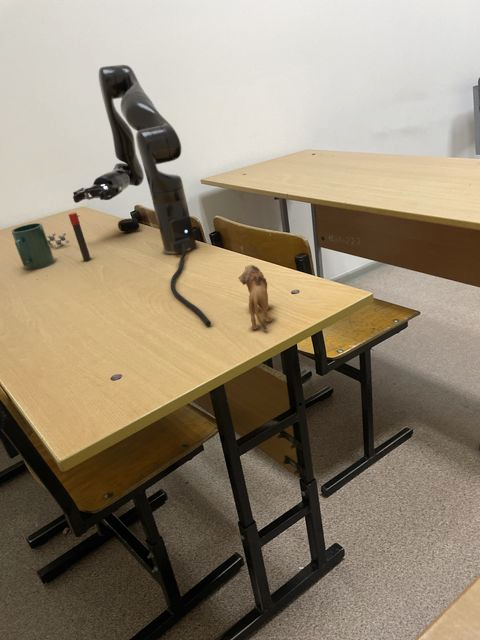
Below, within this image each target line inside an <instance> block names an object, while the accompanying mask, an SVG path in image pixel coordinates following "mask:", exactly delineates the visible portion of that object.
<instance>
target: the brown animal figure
mask: <svg viewBox="0 0 480 640" xmlns="http://www.w3.org/2000/svg"><path fill="white" fill-rule="evenodd" d="M238 280H239V282H240V283H241V284H242V286H244V285H246V287H247V290H248V293H249V296H248V309H249V314H250V315H249V316H250V322H251V329H252V330H257V329H258V327H259V326H258V325H257V322H256V321H258V323H259V324H260V326H261V328H262V329H263V330H264V331H267V330H268V327H267V326H266V324H264V322H263V321H262V319H261V316H260V312H259V308H260V310H261V311H262V312H263V318H264V319H265V321H266V322H267V323H268V322H269V323H270V322H272V321H273V318H272V317H271V316H269V312H268V310H269V309H270V308H271V306H270V305H269V294H268V282H267V279H266V277H265V276H264V273H263V272H262V271H261V269H260V268H259V267H258V266H256V265H254V264H249V265H246V266H245V267H244V271H243V272H242V274H241V275H240V276H238ZM256 319H257V320H256Z"/></svg>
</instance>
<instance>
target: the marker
mask: <svg viewBox="0 0 480 640" xmlns="http://www.w3.org/2000/svg"><path fill="white" fill-rule="evenodd" d="M68 217H69V221H70V224H71V226H72V229H73V233H74V235H75V239H76V242H77V245H78V248H79V251H80V253H81V256H82V260H83V262H88V261H91V259H92V257H91V255H90V251H89V249H88V246H87V242H86V239H85V237H84V233H83V230H82V227H81V223H80V219H79V215H78V213H77V212H71V213H68Z"/></svg>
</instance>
